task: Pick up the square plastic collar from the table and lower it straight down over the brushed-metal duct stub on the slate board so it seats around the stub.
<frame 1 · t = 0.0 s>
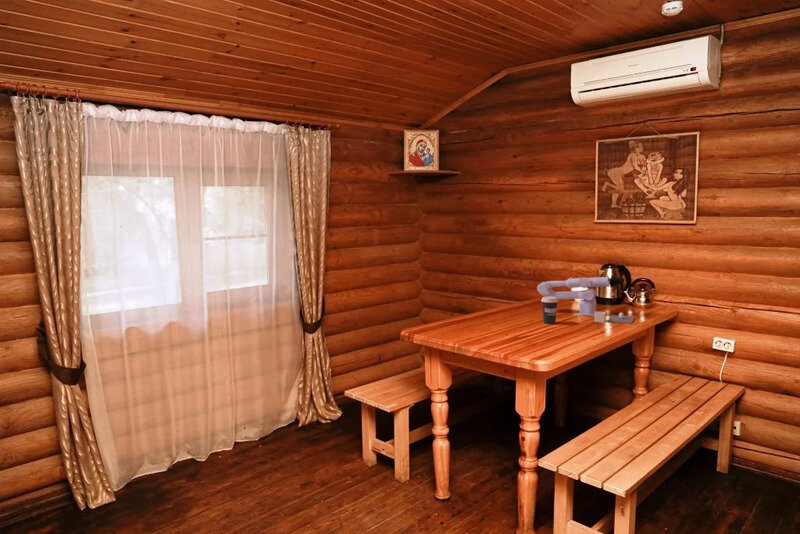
hand: (623, 281, 342), 22 cm above the table, tool horizontal, fingers open, 7 cm apart
coffee cup: (549, 323, 332), on the table
collar: (599, 321, 334), on the table
duct board: (621, 319, 336), on the table
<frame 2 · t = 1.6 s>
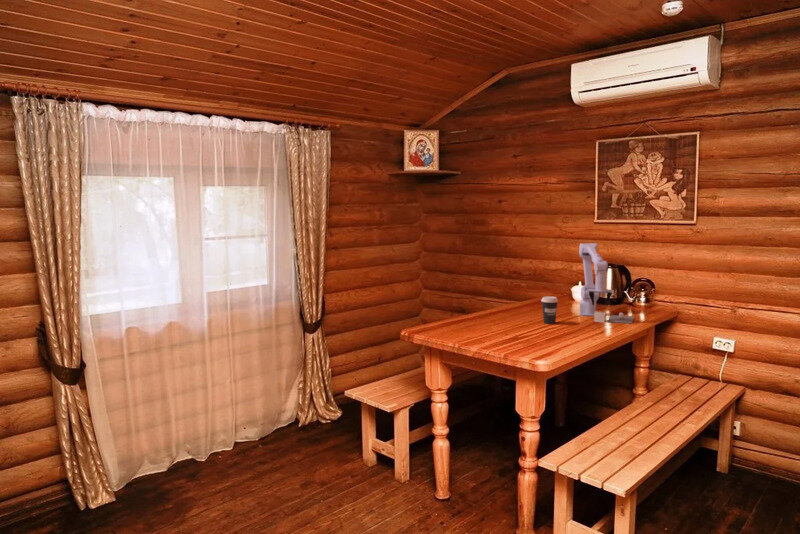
hand: (600, 305, 333), 9 cm above the table, tool pointing down, fingers open, 7 cm apart
nothing on the table moved.
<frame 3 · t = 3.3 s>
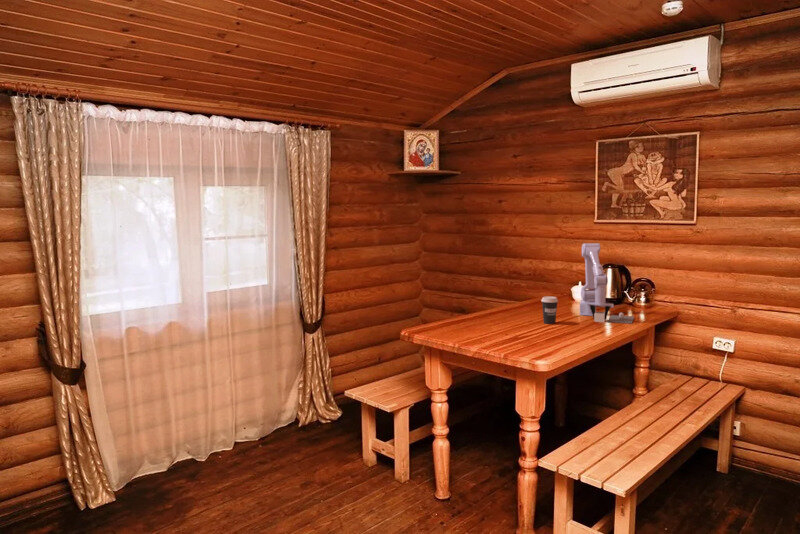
hand: (599, 318, 334), 1 cm above the table, tool pointing down, fingers closed on collar, 6 cm apart
collar: (599, 321, 334), on the table, touching gripper
everything else where it was.
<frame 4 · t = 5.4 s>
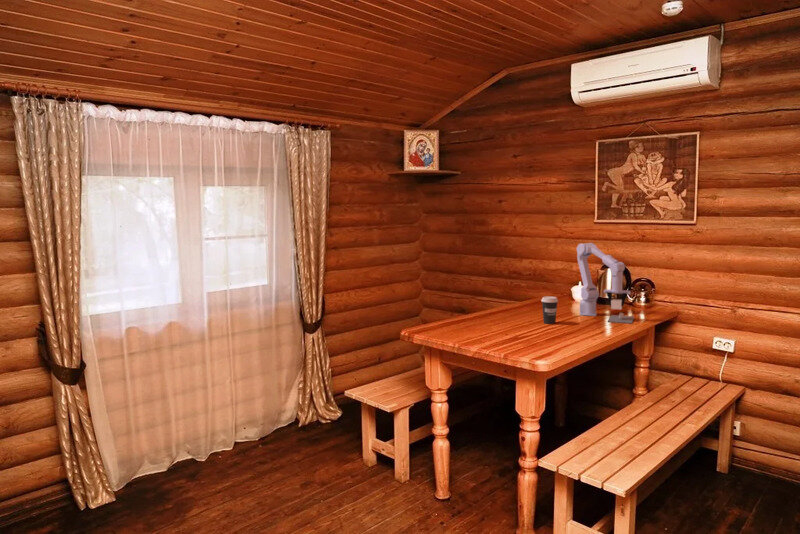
hand: (616, 305, 335), 8 cm above the table, tool pointing down, fingers closed on collar, 6 cm apart
collar: (616, 308, 335), point 7 cm above the table, touching gripper
everything else where it was.
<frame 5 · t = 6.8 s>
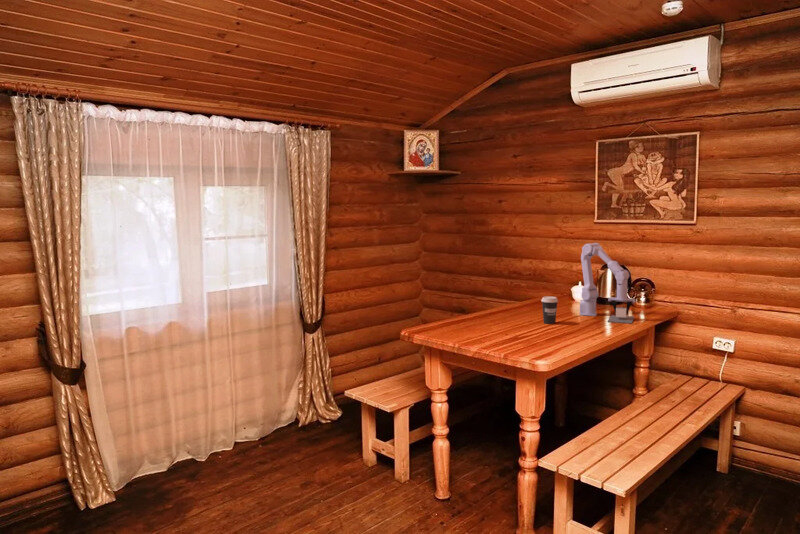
hand: (621, 313, 336), 4 cm above the table, tool pointing down, fingers closed on collar, 6 cm apart
collar: (621, 316, 336), point 2 cm above the table, touching gripper
everything else where it was.
when the fingers open (3 cm above the table, at t = 7.8 s): collar drops 1 cm, resting on duct board.
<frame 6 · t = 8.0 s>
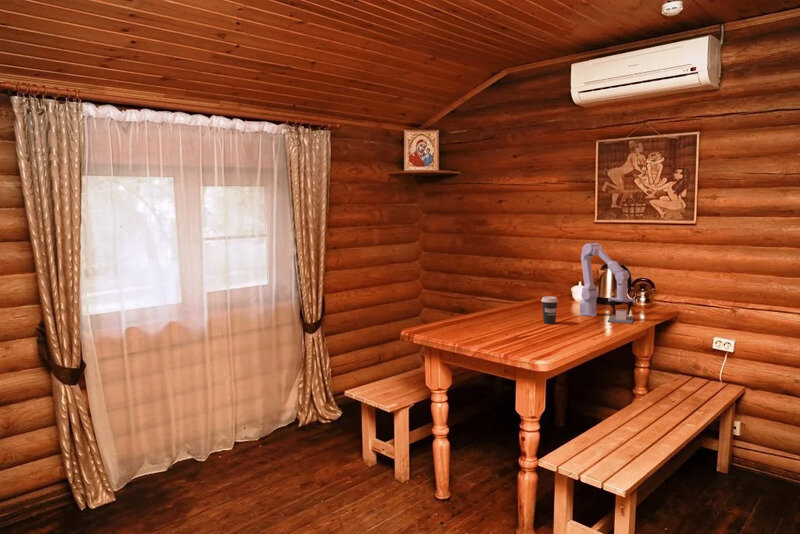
hand: (621, 314, 336), 3 cm above the table, tool pointing down, fingers open, 7 cm apart
collar: (621, 318, 336), point 1 cm above the table, touching duct board
everything else where it was.
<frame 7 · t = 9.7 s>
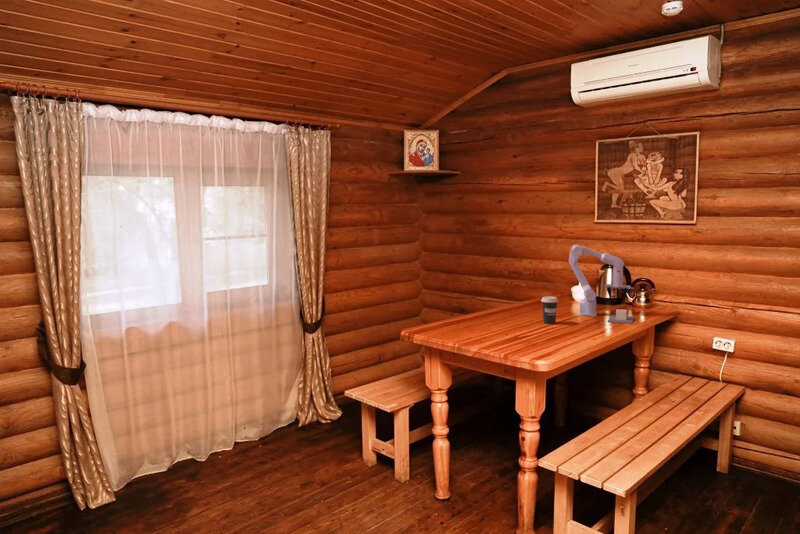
hand: (617, 300, 348), 9 cm above the table, tool pointing down, fingers open, 7 cm apart
nothing on the table moved.
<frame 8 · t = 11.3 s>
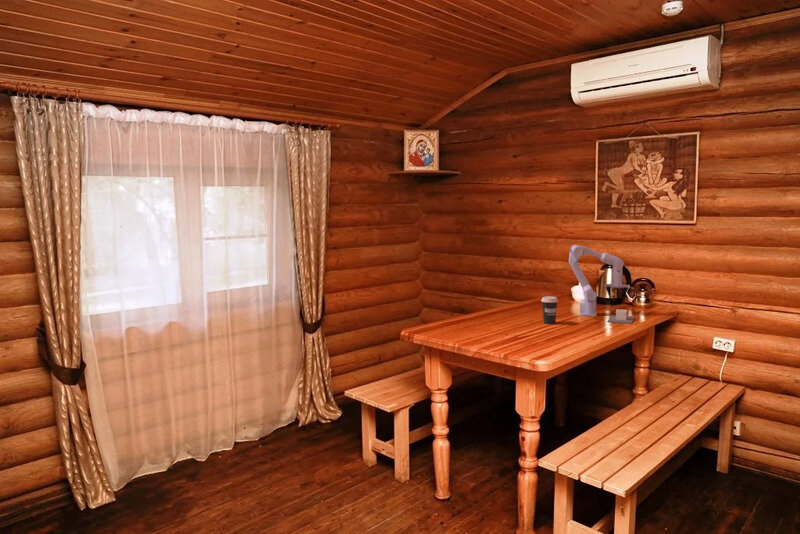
hand: (616, 299, 350), 9 cm above the table, tool pointing down, fingers open, 7 cm apart
nothing on the table moved.
at the end: collar 0.1 cm from the duct board (horizontally); collar point 0.6 cm above the table; the gripper is holding nothing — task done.
